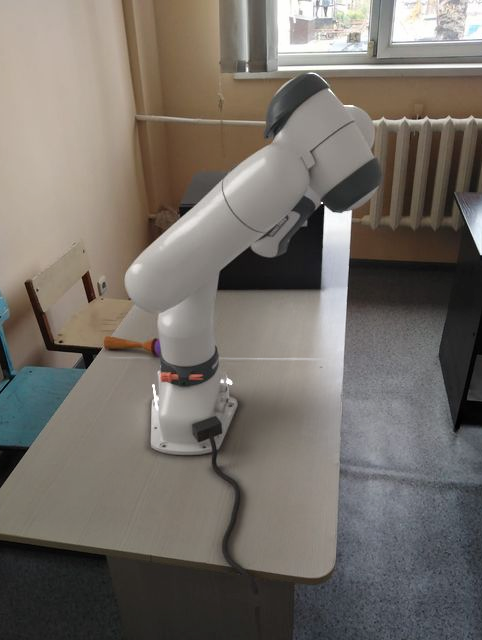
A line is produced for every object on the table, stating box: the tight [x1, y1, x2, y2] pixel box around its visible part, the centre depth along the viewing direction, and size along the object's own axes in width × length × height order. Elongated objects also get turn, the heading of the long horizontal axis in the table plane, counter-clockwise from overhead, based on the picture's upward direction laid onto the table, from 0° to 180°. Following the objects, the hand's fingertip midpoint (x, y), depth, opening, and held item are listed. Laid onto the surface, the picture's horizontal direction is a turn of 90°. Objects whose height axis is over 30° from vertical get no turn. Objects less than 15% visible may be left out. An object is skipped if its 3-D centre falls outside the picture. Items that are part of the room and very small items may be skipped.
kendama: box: [103, 335, 161, 358], centre depth 135 cm, size 6×6×20 cm
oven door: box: [178, 203, 326, 291], centre depth 153 cm, size 7×40×26 cm, turn 85°
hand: (250, 232), depth 147 cm, fingers closed, pressing on oven door
